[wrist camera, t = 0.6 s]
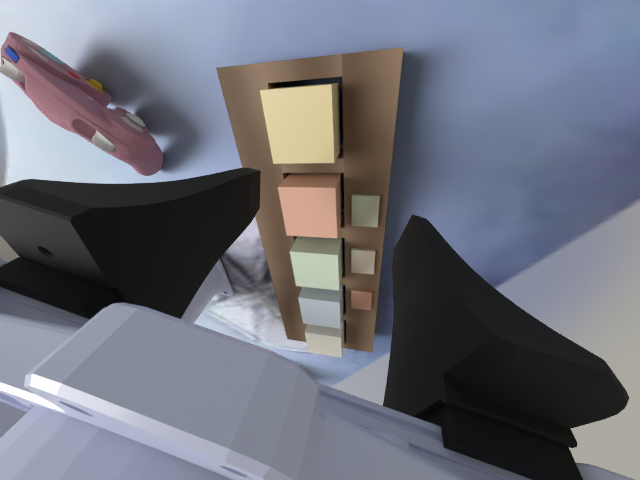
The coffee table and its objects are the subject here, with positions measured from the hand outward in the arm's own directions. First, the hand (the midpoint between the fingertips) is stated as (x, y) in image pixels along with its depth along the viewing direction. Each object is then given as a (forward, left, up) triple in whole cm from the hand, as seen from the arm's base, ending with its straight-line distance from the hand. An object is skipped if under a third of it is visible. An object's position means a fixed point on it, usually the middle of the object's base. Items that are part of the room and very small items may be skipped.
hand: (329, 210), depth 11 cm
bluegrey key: (-2, -14, -7) cm, 16 cm away
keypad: (-2, -8, -9) cm, 13 cm away
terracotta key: (-2, -3, -7) cm, 8 cm away
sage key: (-2, -8, -7) cm, 11 cm away
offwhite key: (-2, -20, -7) cm, 21 cm away
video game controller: (-20, +4, -9) cm, 22 cm away
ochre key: (-2, +3, -7) cm, 8 cm away
